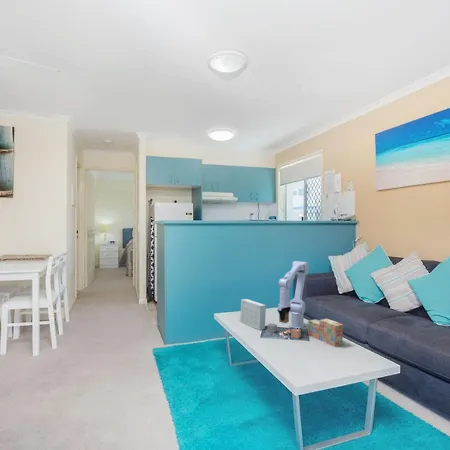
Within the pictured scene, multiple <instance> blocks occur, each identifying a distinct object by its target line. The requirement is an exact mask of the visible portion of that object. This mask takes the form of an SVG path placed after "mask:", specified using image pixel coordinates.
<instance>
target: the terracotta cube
mask: <svg viewBox="0 0 450 450" xmlns="http://www.w3.org/2000/svg"><path fill="white" fill-rule="evenodd" d="M301 329H302V328H301ZM301 329H297V328H293V327H292V329H291V330H290V338H292V337H293V339H296V338H297V340H299V339H300V338H301V337H302V330H301Z"/></svg>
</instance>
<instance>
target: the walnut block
mask: <svg viewBox="0 0 450 450" xmlns="http://www.w3.org/2000/svg"><path fill="white" fill-rule="evenodd" d="M278 317H279V319H278V320H279V321H278V322H279V323H282V324H287V323H289V322H290V312H289V313H287V312H286V314H285V319H284V321H282V320H281V319H280V315H279V314H278Z"/></svg>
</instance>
